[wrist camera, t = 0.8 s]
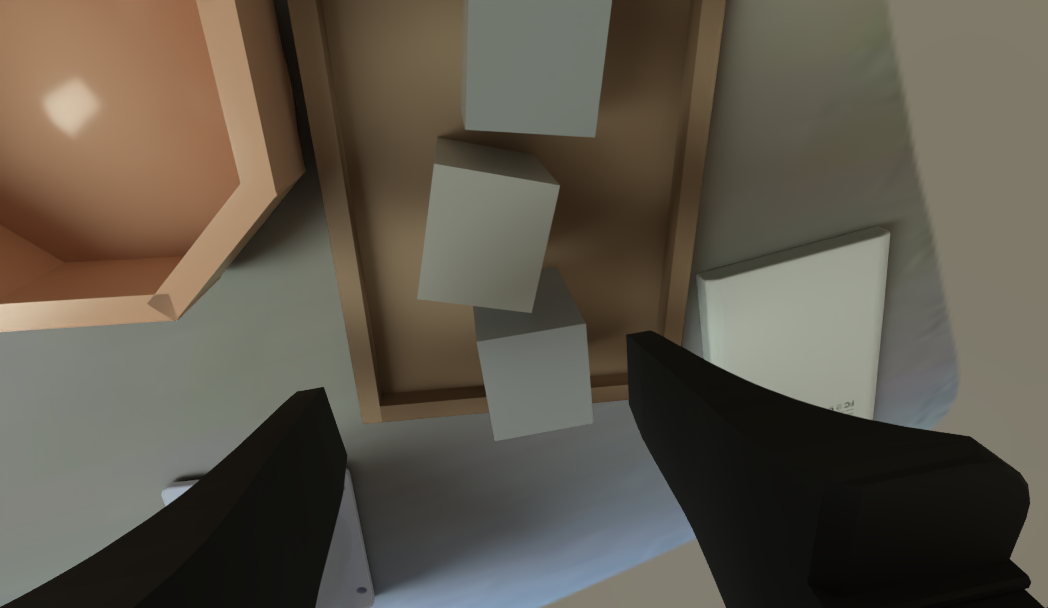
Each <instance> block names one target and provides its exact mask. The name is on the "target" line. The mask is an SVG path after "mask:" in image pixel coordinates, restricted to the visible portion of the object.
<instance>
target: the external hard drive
mask: <svg viewBox="0 0 1048 608" xmlns="http://www.w3.org/2000/svg"><path fill="white" fill-rule="evenodd" d="M889 244H890V232H889V231H888V230H885V229H883V228H880V227H878V226H875V227H871V228H867V229H864V230H860V231H856V232H853V233H849V234H845V235H841V236H838V237H834V238H830V239H826V240H823V241H819V242H815V243H811V244H808V245H804V246H800V247H796V248H792V249H789V250H785V251H781V252H778V253H774V254H770V255H766V256H762V257H759V258H755V259H751V260H747V261H744V262H740V263H736V264H732V265H728V266H724V267H721V268H717V269H713V270H709V271H705V272H701V273H698V274H696V279H697V290H698V302H699V313H700V324H701V335H702V346H703V358H704V359H705V360H706V361H708V362H710V363H712V364H714V365H716V366H718V367H720V368H722V369H724V370H726V371H728V372H730V373H732V374H735V375H737V376H739V377H741V378H743V379H745V380H748V381H750V382H752V383H754V384H757V385H759V386H762V387H764V388H767V389H769V390H772V391H775V392H777V393H780V394H783V395H785V396H788V397H791V398H794V399H797V400H800V401H803V402H806V403H809V404H812V405H816V406H819V407H823V408H826V409H830V410H833V411H837V412H840V413H844V414H848V415H852V416H856V417H861V418H865V419H869V420H873V413H874V405H875V395H876V384H877V373H878V362H879V352H880V341H881V331H882V321H883V312H884V301H885V289H886V278H887V266H888V255H889Z"/></svg>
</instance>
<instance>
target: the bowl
mask: <svg viewBox="0 0 1048 608" xmlns="http://www.w3.org/2000/svg"><path fill="white" fill-rule="evenodd" d="M305 171H306V169H305V166H304V161H303V156H302V150H301V145H300V140H299V134H298V129H297V110H296V101H295V93H294V86H293V82H292V78H291V74H290V70H289V66H288V62H287V59H286V56H285V54H284V51H283V48H282V44H281V39H280V33H279V28H278V23H277V17H276V12H275V7H274V2H273V0H0V332H9V331H23V330H38V329H53V328H68V327H83V326H98V325H113V324H127V323H142V322H157V321H172V320H174V321H176V320H178V319H179V318H180V317H181V316H182V315H183V314H184V313H185V312H186V311H187V310H188V309H189V308H190V307H191V306H192V305H193V304H194V303H195V302H196V301H197V300H198V299H199V298H200V297H202V296H203V295H204V294H205V293H206V292H207V291H208V290H209V289H210V288H211V287H212V286H213V285H214V284H215V283H216V282H217V281H218V280H219V279H220V278H221V277H220V276H221V275H222V274H223V272H224V271H225V270H226V269H227V267H228V266H229V265H230V264H231V263H232V261H233V260H234V259H235V258H236V256H237V255H238V254H239V253H240V251H241V250H242V249H243V248H244V246H245V245H246V244H247V243H248V241H249V240H250V239H251V238H252V236H253V235H254V234H255V233H256V232H257V230H258V229H259V228H260V227H261V226H262V225H263V224H264V223H265V221H266V220H267V219H268V217H269V216H270V214H271V213H272V212H273V210H274V209H275V208H276V207H277V206H278V204H279V203H280V202H281V201H282V199H283V198H284V197H285V196H286V194H287V193H288V192H289V191H290V189H291V188H292V187H293V186H294V184H295V183H296V182H297V181H298V179H299V178H300V177H301V176H302V175H303V174H304V173H305Z"/></svg>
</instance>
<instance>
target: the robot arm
mask: <svg viewBox="0 0 1048 608" xmlns="http://www.w3.org/2000/svg"><path fill="white" fill-rule="evenodd" d="M626 344H627V369H628V394H629V405H630V408H631V411H632V413H633V416H634V418H635V421H636V424H637V426H638V429H639V431H640V433H641V436H642V438H643V440H644V442H645V444H646V446H647V448H648V449H649V451H650V453H651V455H652V456H653V458H654V460H655V462H656V464H657V465H658V467H659V469H660V471H661V473H662V474H663V476H664V478H665V480H666V481H667V483H668V485H669V487H670V488H671V490H672V492H673V494H674V495H675V497H676V499H677V501H678V502H679V504H680V506H681V508H682V510H683V511H684V513H685V515H686V517H687V519H688V521H689V523H690V525H691V527H692V529H693V531H694V533H695V535H696V538H697V540H698V542H699V545H700V547H701V549H702V551H703V554H704V556H705V558H706V560H707V563H708V565H709V568H710V570H711V572H712V575H713V577H714V579H715V582H716V584H717V587H718V589H719V592H720V594H721V596H722V599H723V601H724V603H725V606H726V608H1044V607H1043V606H1042V605H1041V604H1040V603H1039V602H1038V601H1037V600H1035V599H1034V598H1033V597H1032V596H1031V595H1030V594H1029V593H1028V592H1027V591H1026V590H1025V589H1026V588H1029V586H1030V584H1031V581H1030V579H1029V576H1028V575H1027V574H1026V573H1025V572H1023V571H1022V570H1021V569H1020V568H1019V567H1018V566H1017V565H1016V564H1015V563H1013V562H1012V561H1011V560H1010V556H1011V554H1012V551H1013V549H1014V546H1015V544H1016V542H1017V539H1018V537H1019V534H1020V531H1021V529H1022V527H1023V525H1024V522H1025V520H1026V517H1027V512H1028V509H1029V505H1030V497H1029V489H1028V484H1027V482H1026V481H1025V479H1024V478H1023V476H1022V475H1021V474H1020V472H1018V471H1017V470H1015V469H1014V468H1013V467H1011V466H1010V465H1009V464H1007V463H1006V462H1004V461H1003V460H1002V459H1000V458H999V457H998V456H996V455H995V454H994V453H992V452H991V451H989V450H988V449H987V448H985V447H984V446H983V445H981V444H980V443H978V442H977V441H976V440H974V439H973V438H972V437H970V436H963V435H956V434H950V433H943V432H936V431H930V430H923V429H916V428H909V427H904V426H898V425H893V424H889V423H884V422H879V421H874V420H869V419H865V418H861V417H856V416H852V415H848V414H844V413H840V412H837V411H833V410H830V409H826V408H823V407H819V406H816V405H812V404H809V403H806V402H803V401H800V400H797V399H794V398H791V397H788V396H785V395H783V394H780V393H777V392H775V391H772V390H769V389H767V388H764V387H762V386H759V385H757V384H754V383H752V382H750V381H748V380H745V379H743V378H741V377H739V376H737V375H735V374H732V373H730V372H728V371H726V370H724V369H722V368H720V367H718V366H716V365H714V364H712V363H710V362H708V361H706V360H705V359H703V358H701V357H699V356H697V355H695V354H693V353H692V352H690V351H688V350H686V349H684V348H683V347H681V346H679V345H677V344H676V343H674V342H672V341H670V340H668V339H667V338H665V337H663V336H661V335H659V334H657V333H655V332H653V331H651V330H649V331H644V332H638V333H632V334H626ZM346 463H347V453H346V450H345V447H344V445H343V442H342V439H341V436H340V433H339V430H338V427H337V424H336V421H335V418H334V416H333V413H332V410H331V407H330V404H329V401H328V398H327V395H326V392H325V389H324V387H321V388H315V389H310V390H304V391H298V392H296V393H295V394H294V395H292V396H291V397H290V398H289V399H288V400H287V401H286V402H284V403H283V404H282V405H281V406H280V407H279V408H278V409H277V410H276V411H275V412H274V413H273V414H272V415H271V416H270V417H269V418H268V419H267V420H265V421H264V422H263V423H262V424H261V425H260V426H259V427H258V428H257V429H256V430H255V431H254V432H253V433H252V434H251V435H250V436H249V437H248V438H246V439H245V440H244V441H243V442H242V443H241V444H240V445H239V446H238V447H237V448H236V449H235V450H234V451H232V452H231V453H230V454H229V455H228V456H227V457H226V458H224V459H223V460H222V461H221V462H220V463H219V464H218V465H216V466H215V467H214V468H213V469H212V470H211V471H210V472H208V473H207V474H206V475H205V476H204V477H203V478H202V479H200V480H191V481H181V482H173V483H169V484H168V485H167V486H166V487H165V489H164V490H163V492H162V498H163V500H164V503H165V505H166V507H164V508H163V509H162V510H160V511H159V512H157V513H156V514H155V515H153V516H152V517H150V518H149V519H148V520H146V521H145V522H143V523H142V524H140V525H139V526H137V527H136V528H134V529H133V530H131V531H130V532H128V533H126V534H125V535H123V536H122V537H120V538H119V539H117V540H116V541H114V542H113V543H111V544H110V545H108V546H107V547H105V548H104V549H102V550H101V551H99V552H97V553H96V554H94V555H93V556H91V557H89V558H88V559H86V560H84V561H83V562H81V563H79V564H78V565H76V566H74V567H72V568H71V569H69V570H67V571H66V572H64V573H62V574H60V575H59V576H57V577H55V578H53V579H52V580H50V581H48V582H46V583H44V584H43V585H41V586H39V587H37V588H36V589H34V590H32V591H30V592H28V593H26V594H24V595H23V596H21V597H19V598H17V599H15V600H13V601H11V602H9V603H7V604H5V605H3V606H1V607H0V608H370V607H371V606H373V604H374V599H375V594H374V589H373V584H372V579H371V574H370V569H369V564H368V560H367V555H366V550H365V545H364V540H363V535H362V530H361V525H360V520H359V515H358V510H357V505H356V500H355V495H354V490H353V485H352V480H351V475H350V472H349V470H348V469H347V468H346ZM1047 608H1048V607H1047Z"/></svg>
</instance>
